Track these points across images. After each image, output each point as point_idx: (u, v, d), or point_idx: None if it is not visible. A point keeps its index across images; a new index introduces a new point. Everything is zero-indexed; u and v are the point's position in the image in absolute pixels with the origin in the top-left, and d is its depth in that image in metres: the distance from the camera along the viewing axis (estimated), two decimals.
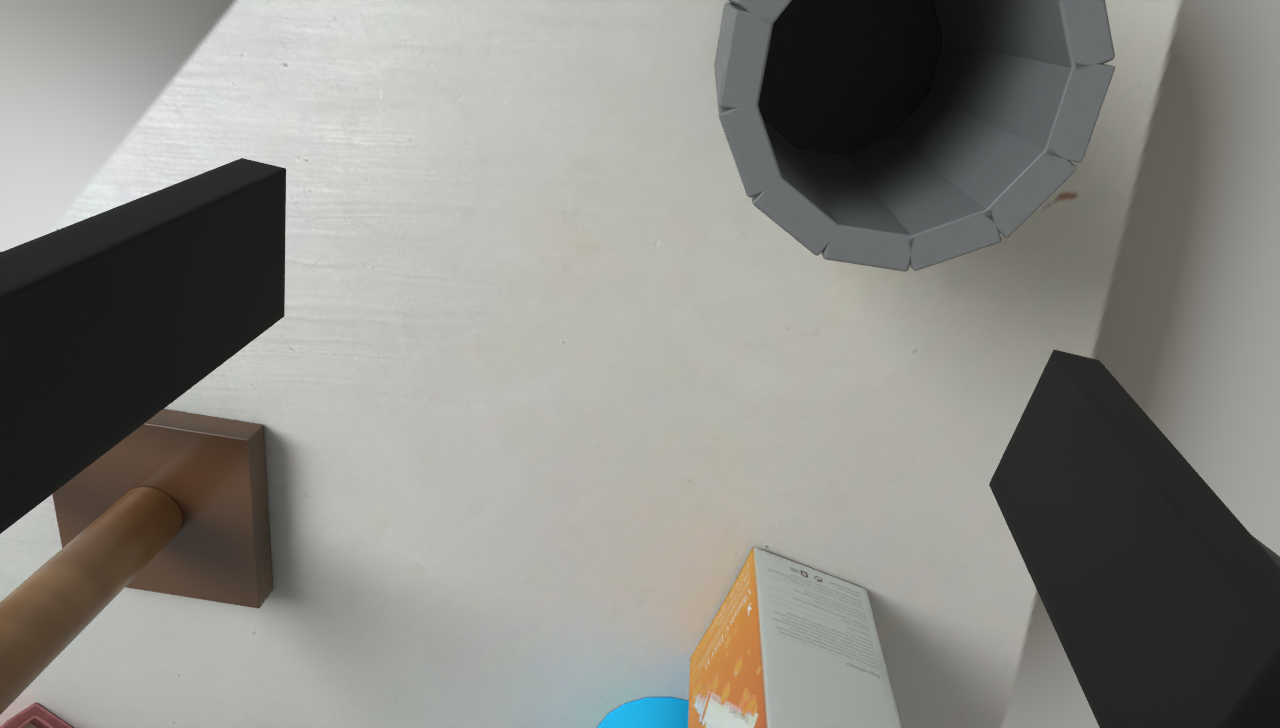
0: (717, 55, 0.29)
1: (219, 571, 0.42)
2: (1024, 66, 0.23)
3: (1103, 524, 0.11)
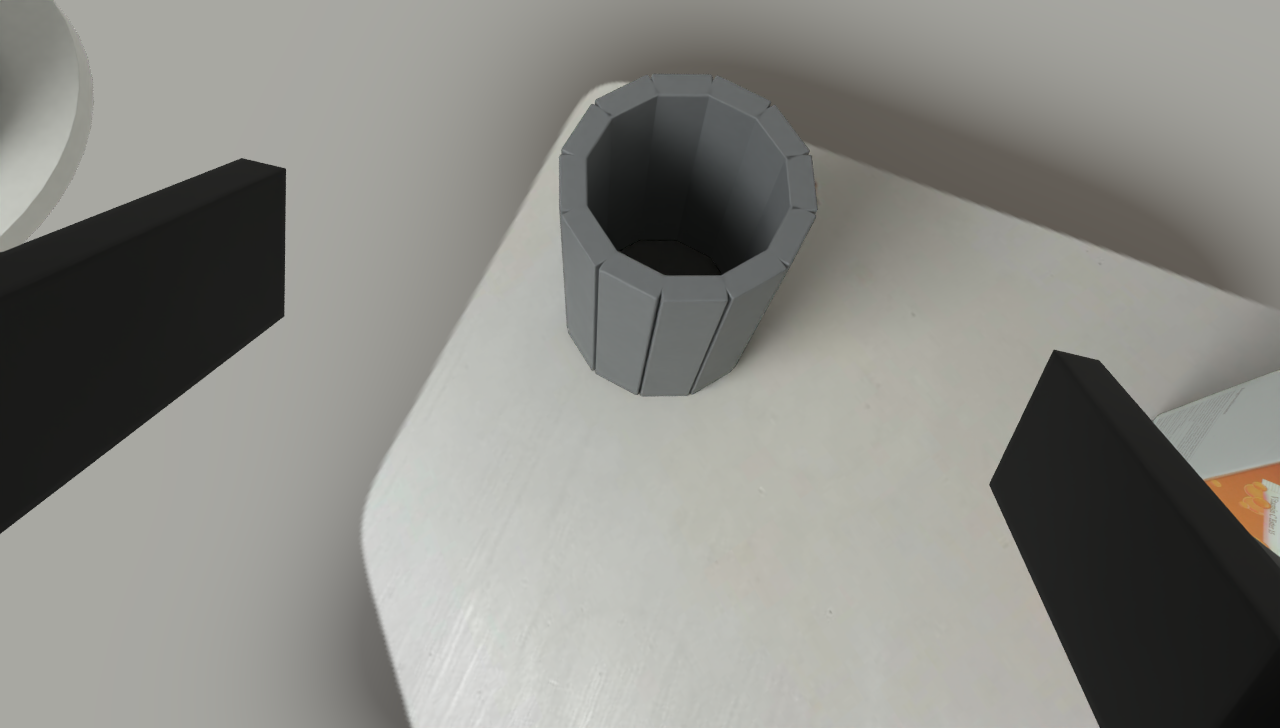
0: (628, 375, 0.38)
1: None
2: (703, 144, 0.34)
3: (1103, 524, 0.11)
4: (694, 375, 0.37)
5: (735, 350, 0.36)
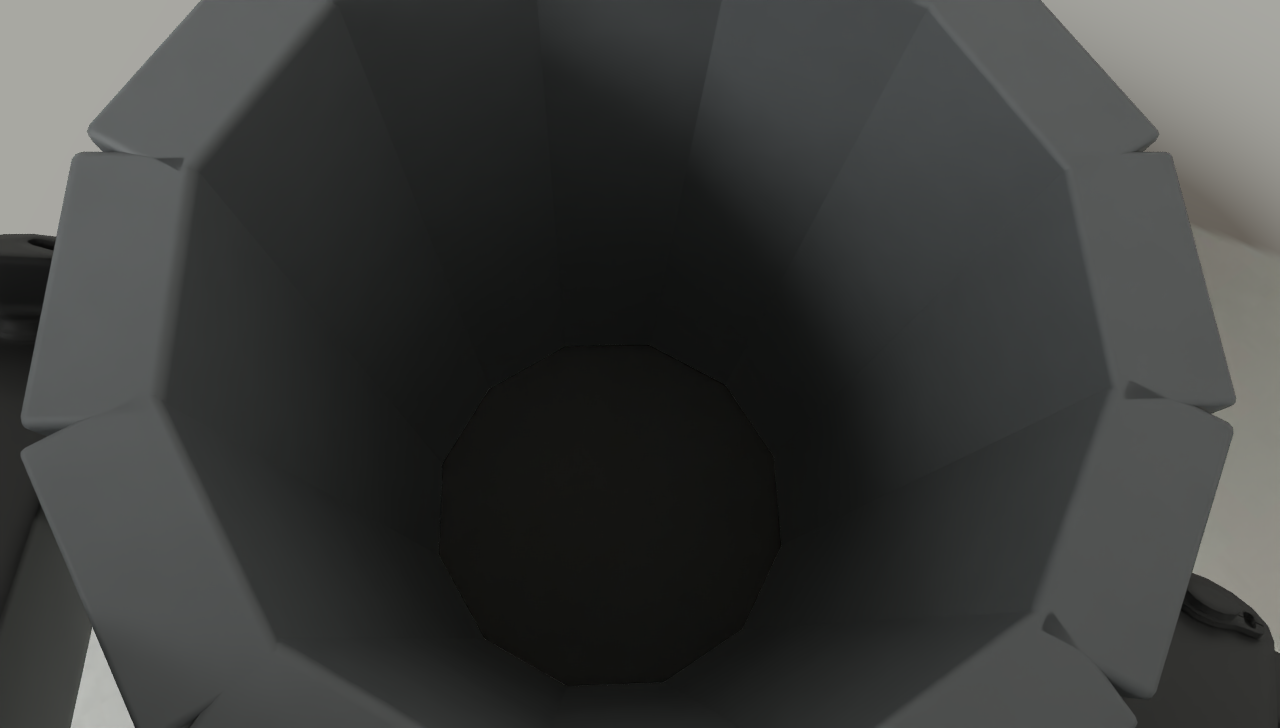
0: None
1: None
2: (711, 124, 0.11)
3: None
4: None
5: None
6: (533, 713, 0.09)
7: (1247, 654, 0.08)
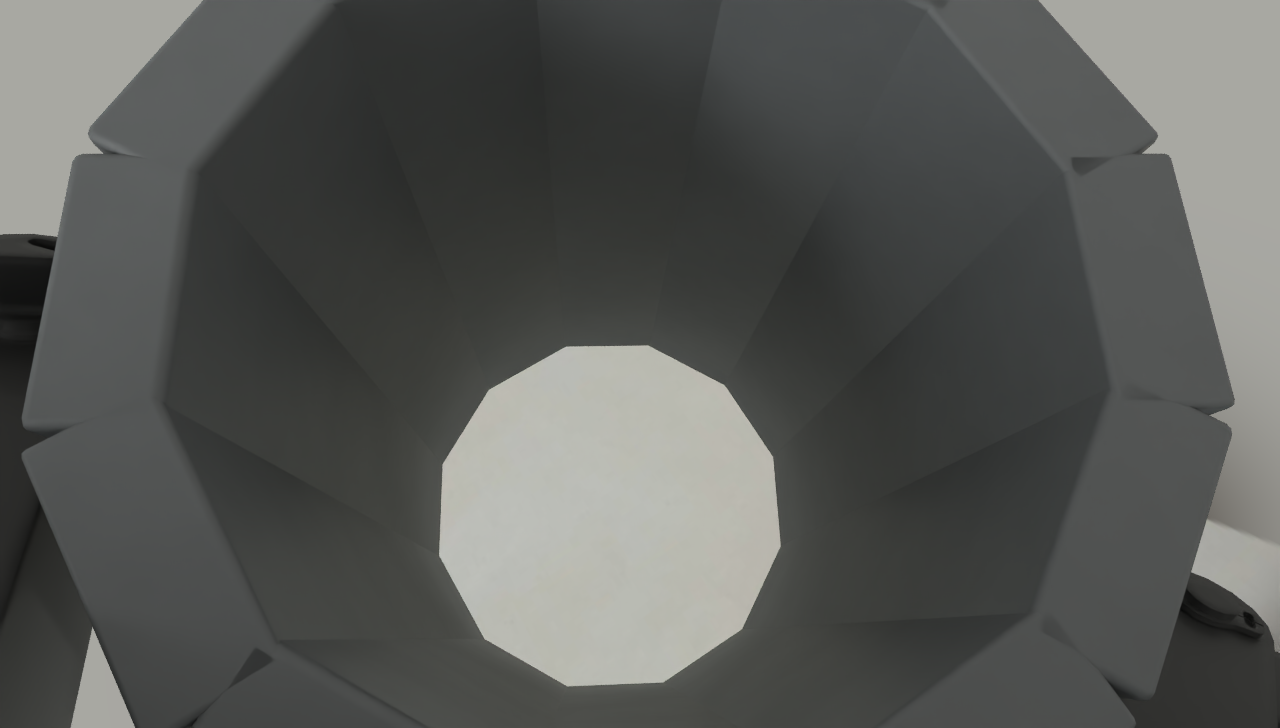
0: None
1: None
2: (711, 125, 0.11)
3: None
4: None
5: None
6: (533, 714, 0.09)
7: (1247, 654, 0.08)
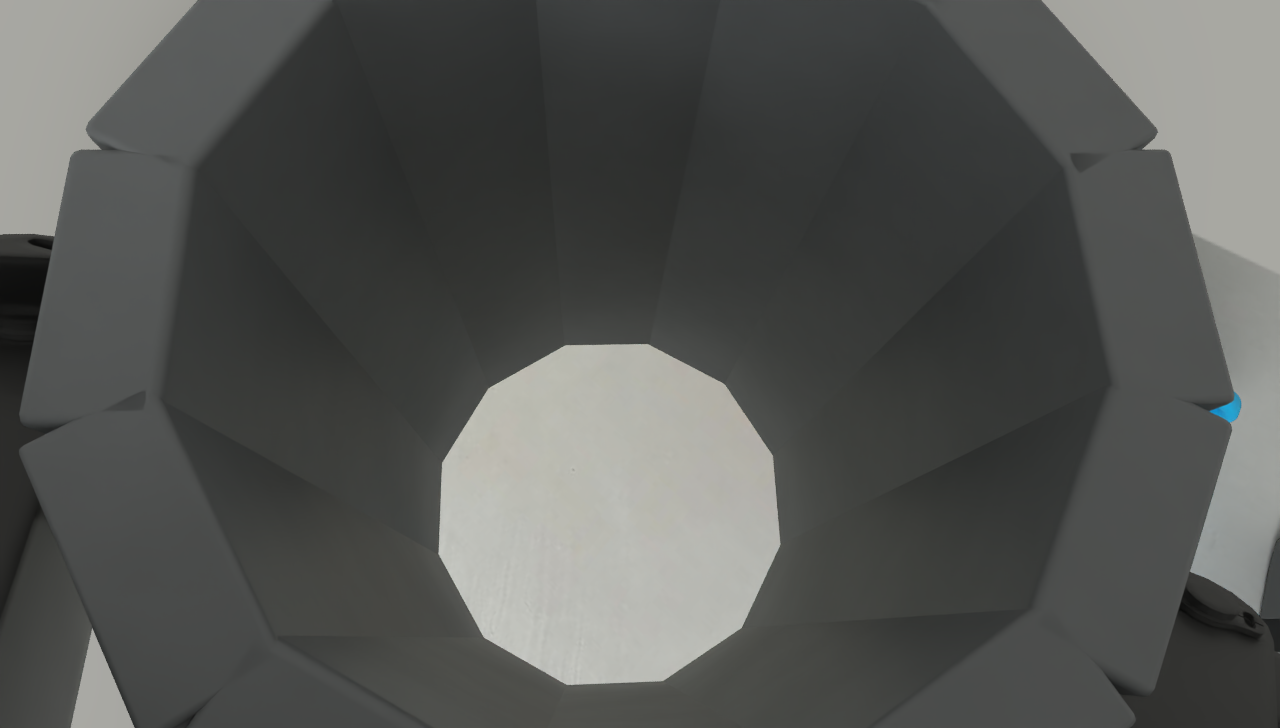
0: None
1: None
2: (711, 122, 0.11)
3: None
4: None
5: None
6: (532, 711, 0.09)
7: (1247, 654, 0.08)
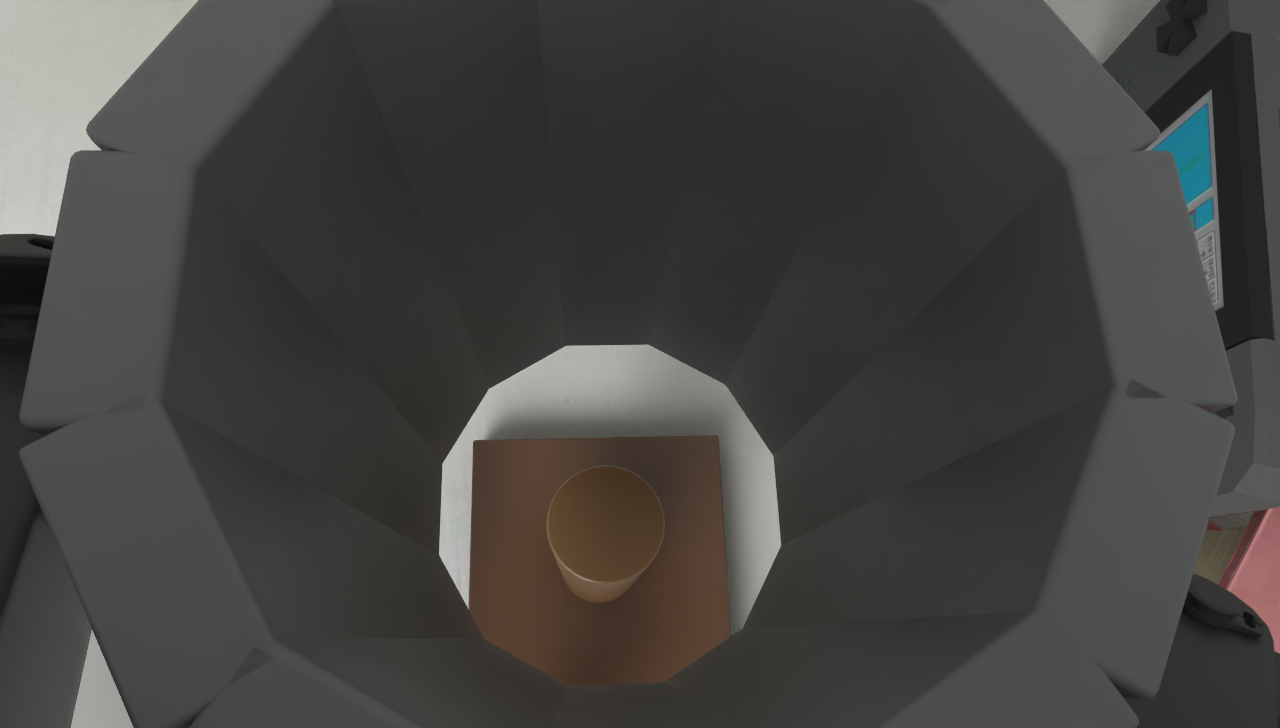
0: None
1: (671, 482, 0.34)
2: (712, 122, 0.11)
3: None
4: None
5: None
6: (533, 713, 0.09)
7: (1247, 654, 0.08)
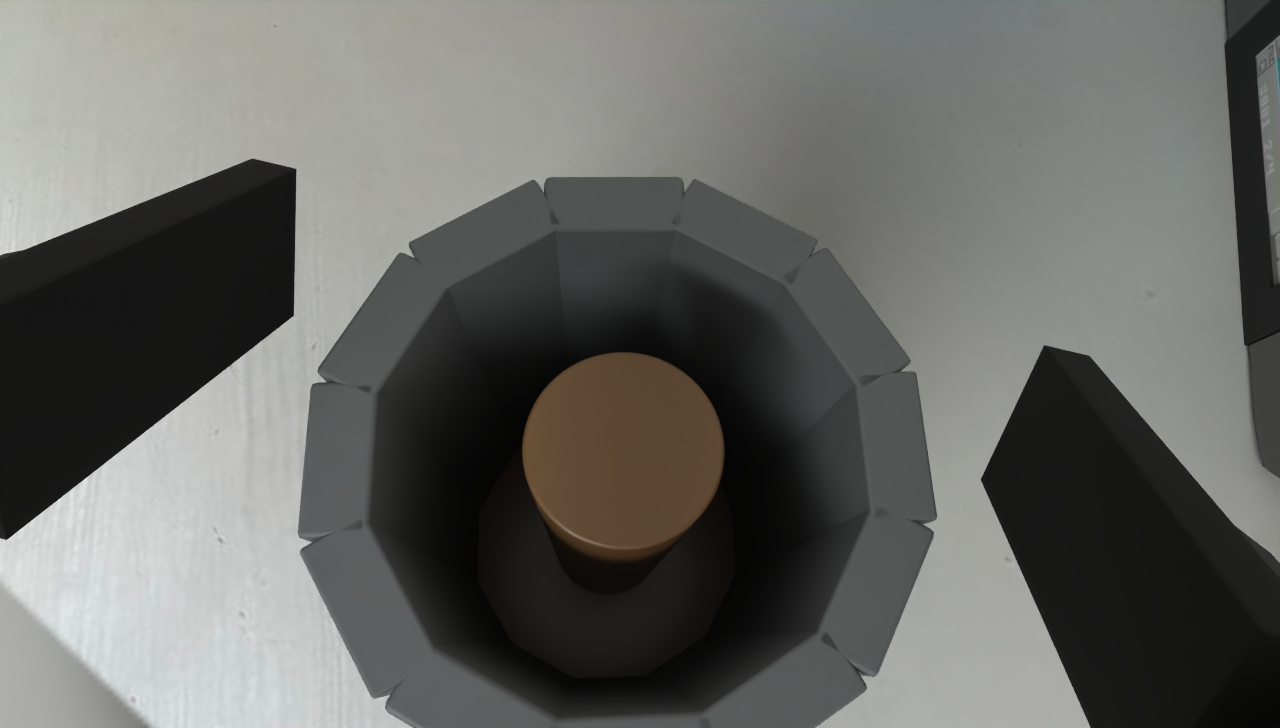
0: None
1: None
2: (670, 307, 0.16)
3: (1091, 517, 0.11)
4: None
5: None
6: (555, 691, 0.15)
7: None
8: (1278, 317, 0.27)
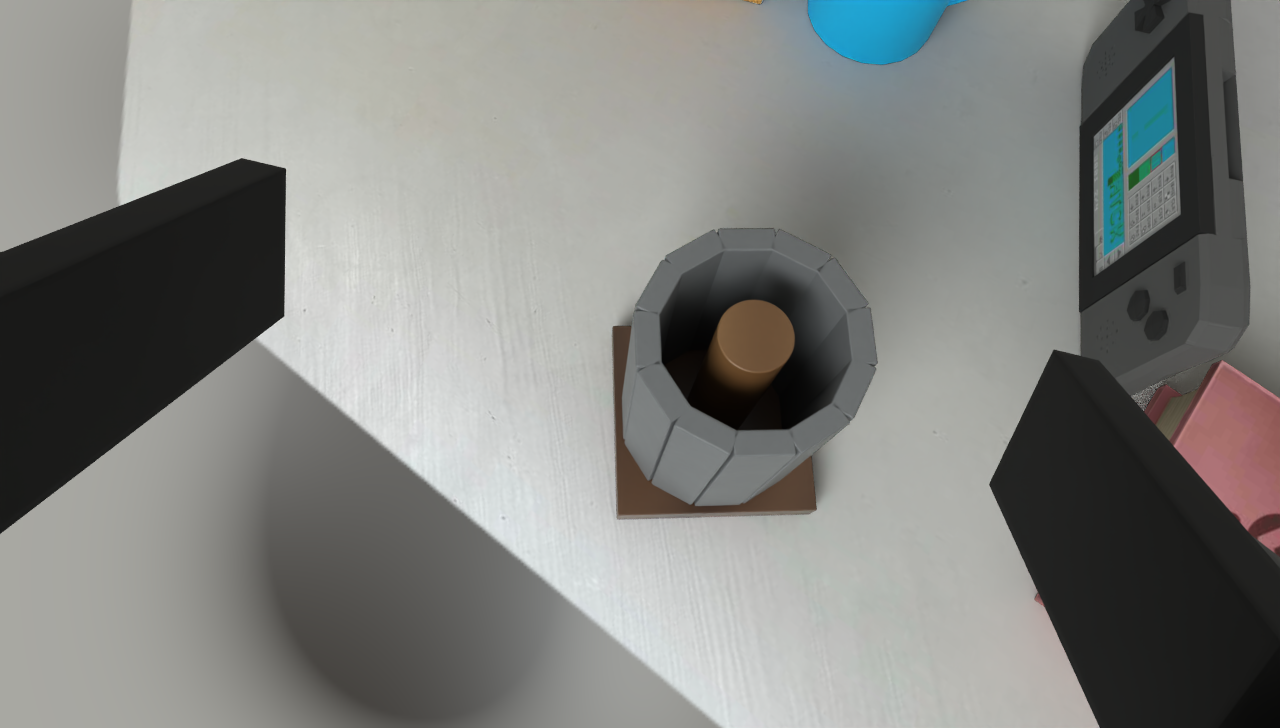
0: (685, 492, 0.39)
1: None
2: (762, 284, 0.36)
3: (1103, 524, 0.11)
4: (750, 494, 0.39)
5: (789, 471, 0.38)
6: None
7: None
8: (1094, 295, 0.47)
